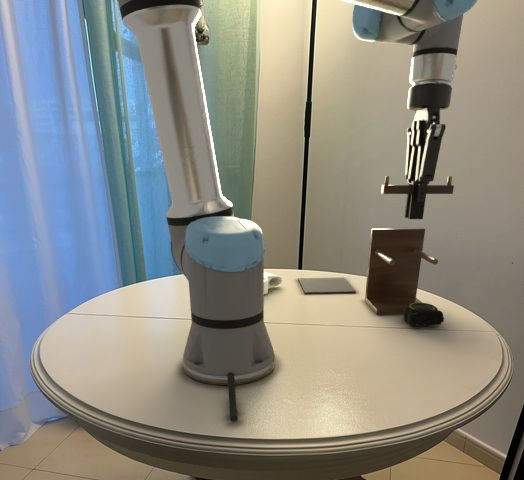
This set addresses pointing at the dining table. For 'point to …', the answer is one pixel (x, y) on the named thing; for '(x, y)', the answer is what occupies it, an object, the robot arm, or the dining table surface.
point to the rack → (394, 268)
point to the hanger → (408, 188)
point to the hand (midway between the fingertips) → (413, 218)
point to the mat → (325, 285)
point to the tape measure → (422, 314)
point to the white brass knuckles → (271, 281)
